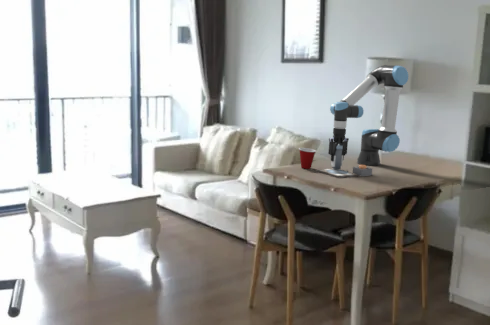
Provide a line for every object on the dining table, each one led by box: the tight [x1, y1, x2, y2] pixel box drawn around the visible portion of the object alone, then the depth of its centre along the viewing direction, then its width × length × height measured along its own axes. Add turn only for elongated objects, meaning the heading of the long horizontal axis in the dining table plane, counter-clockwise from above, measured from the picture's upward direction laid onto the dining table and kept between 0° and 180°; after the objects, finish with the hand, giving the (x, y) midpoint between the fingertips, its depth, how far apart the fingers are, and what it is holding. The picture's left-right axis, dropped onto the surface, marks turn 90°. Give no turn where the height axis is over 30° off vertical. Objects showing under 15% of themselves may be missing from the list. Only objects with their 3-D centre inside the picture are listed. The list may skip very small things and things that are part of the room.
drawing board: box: [316, 168, 359, 179], centre depth 326 cm, size 15×20×1 cm
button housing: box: [352, 166, 373, 177], centre depth 328 cm, size 8×8×4 cm
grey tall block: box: [331, 144, 343, 170], centre depth 333 cm, size 5×5×14 cm
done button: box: [358, 164, 368, 169], centre depth 327 cm, size 4×4×2 cm
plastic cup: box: [298, 147, 317, 170], centre depth 339 cm, size 11×11×12 cm
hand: (336, 166), depth 334 cm, fingers closed on grey tall block, 5 cm apart
